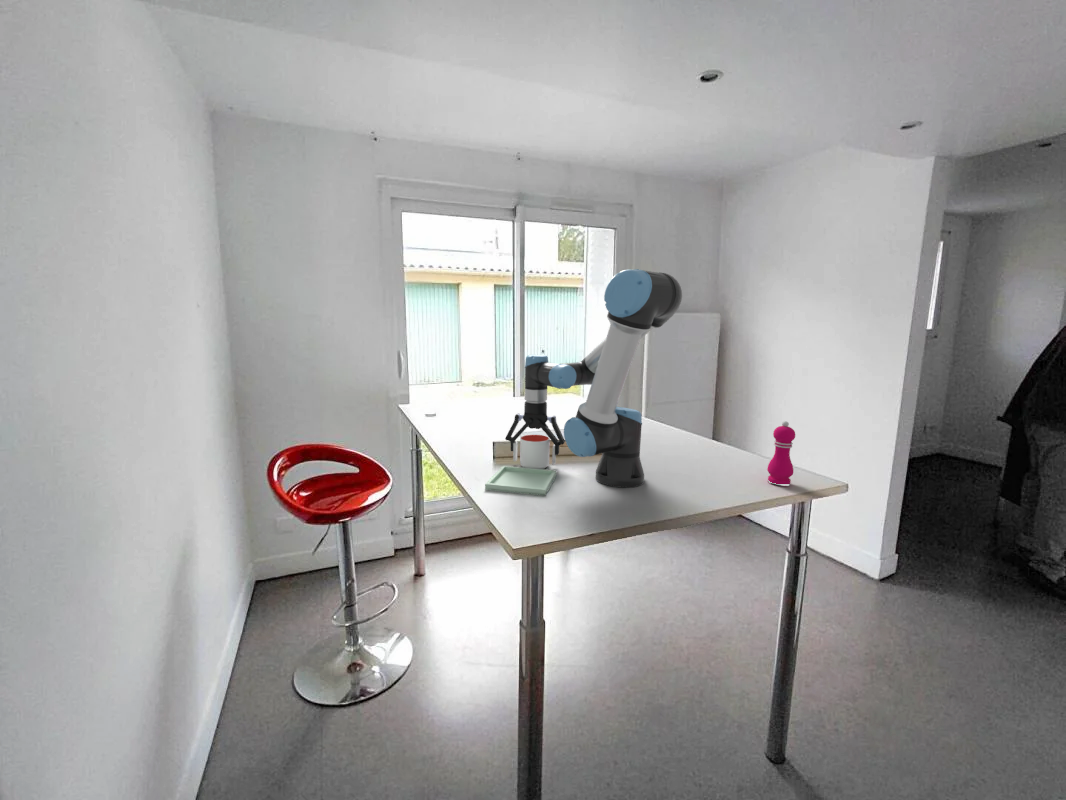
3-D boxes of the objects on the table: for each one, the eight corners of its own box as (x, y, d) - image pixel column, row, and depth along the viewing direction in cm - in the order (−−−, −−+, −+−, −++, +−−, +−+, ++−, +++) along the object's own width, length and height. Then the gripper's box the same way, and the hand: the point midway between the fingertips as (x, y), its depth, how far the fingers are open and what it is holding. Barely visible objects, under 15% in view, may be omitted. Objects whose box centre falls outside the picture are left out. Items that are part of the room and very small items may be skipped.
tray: (556, 475, 150) (556, 470, 149) (545, 495, 132) (545, 489, 132) (502, 471, 154) (502, 465, 153) (485, 489, 136) (485, 483, 136)
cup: (554, 465, 161) (555, 437, 159) (539, 472, 153) (539, 443, 151) (530, 460, 166) (530, 433, 165) (514, 467, 158) (514, 438, 156)
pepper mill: (794, 483, 146) (801, 421, 143) (788, 489, 141) (795, 425, 138) (770, 478, 151) (776, 417, 148) (762, 483, 146) (769, 421, 143)
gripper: (574, 401, 156) (572, 462, 160) (503, 397, 162) (502, 455, 166) (571, 405, 149) (568, 468, 153) (496, 400, 155) (496, 462, 158)
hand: (534, 462), depth 159 cm, fingers open, 13 cm apart
